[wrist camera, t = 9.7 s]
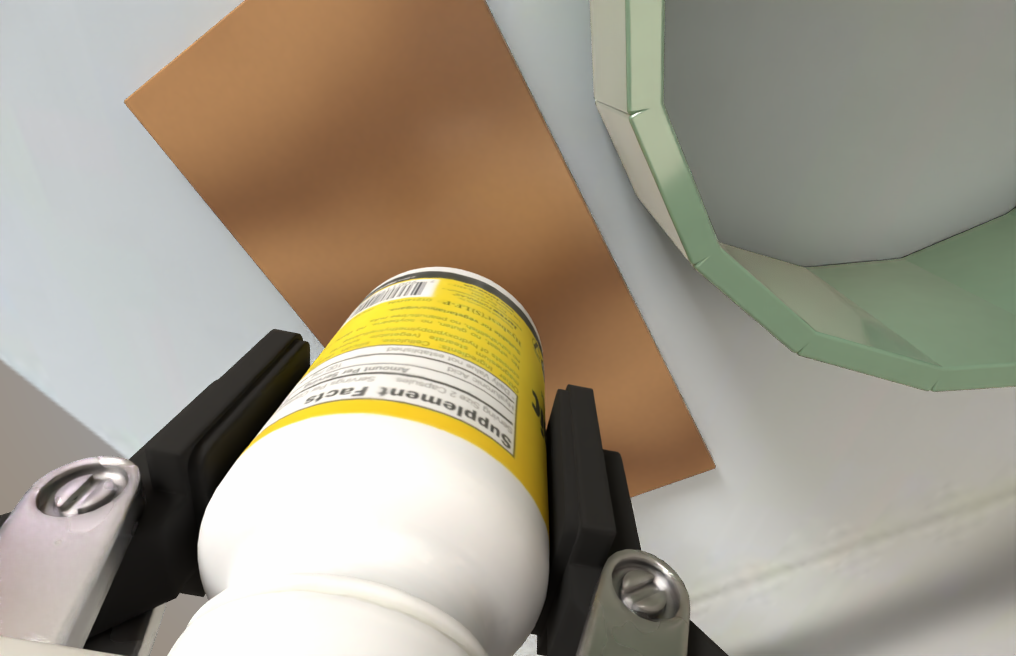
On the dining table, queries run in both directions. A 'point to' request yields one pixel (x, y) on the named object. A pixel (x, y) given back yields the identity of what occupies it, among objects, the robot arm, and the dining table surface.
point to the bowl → (822, 289)
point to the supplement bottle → (390, 489)
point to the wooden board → (413, 189)
